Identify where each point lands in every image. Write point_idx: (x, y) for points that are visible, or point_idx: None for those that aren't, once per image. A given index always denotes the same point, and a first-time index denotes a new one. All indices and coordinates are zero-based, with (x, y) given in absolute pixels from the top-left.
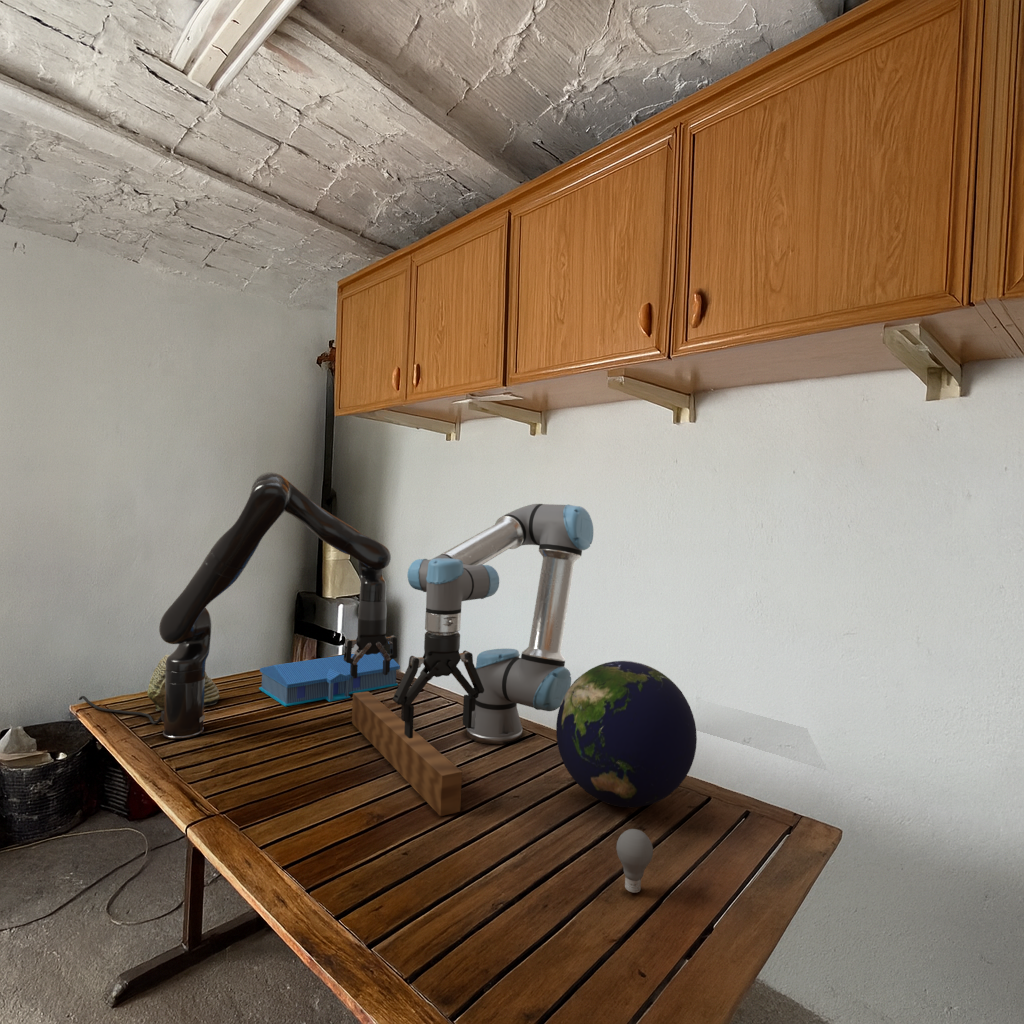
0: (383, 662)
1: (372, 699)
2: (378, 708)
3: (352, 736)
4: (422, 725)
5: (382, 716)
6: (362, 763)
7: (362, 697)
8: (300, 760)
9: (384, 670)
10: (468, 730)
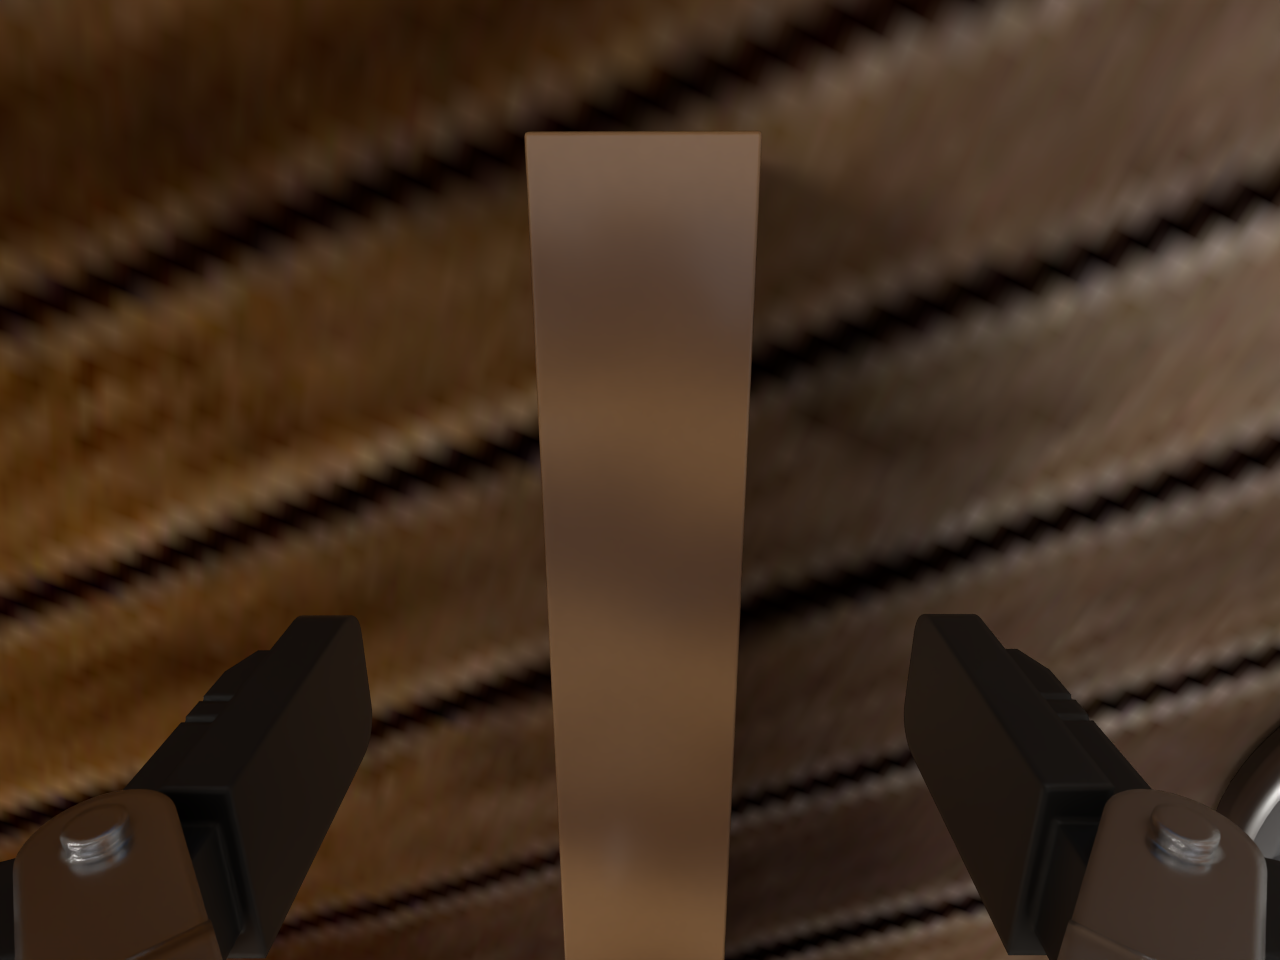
0: (1011, 786)
1: (684, 491)
2: (639, 773)
3: (488, 469)
4: (1090, 471)
5: (600, 949)
6: (444, 875)
7: (595, 372)
8: (87, 714)
9: (935, 741)
10: (1250, 834)
